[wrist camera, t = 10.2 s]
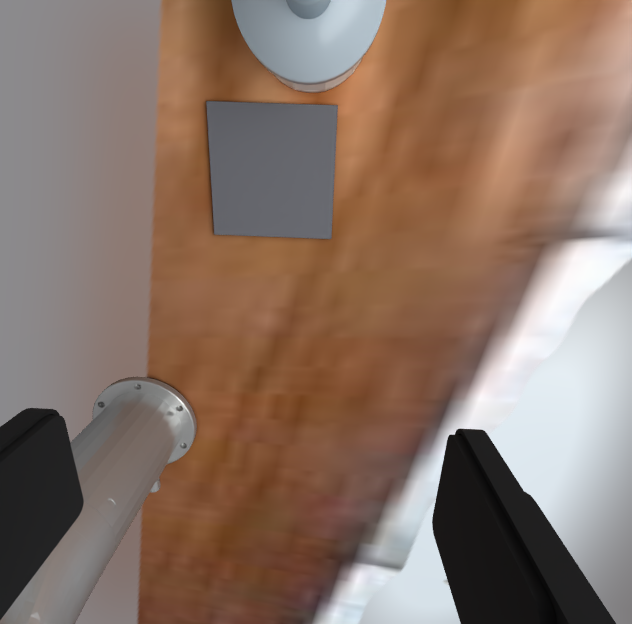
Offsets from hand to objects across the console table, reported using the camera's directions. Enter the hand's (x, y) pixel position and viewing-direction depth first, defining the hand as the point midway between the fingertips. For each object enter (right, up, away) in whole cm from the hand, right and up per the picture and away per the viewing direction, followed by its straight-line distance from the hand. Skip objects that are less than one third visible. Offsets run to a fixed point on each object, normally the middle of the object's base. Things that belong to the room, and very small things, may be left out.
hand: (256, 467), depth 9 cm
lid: (+1, +27, +17) cm, 32 cm away
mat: (-3, +17, +26) cm, 31 cm away
